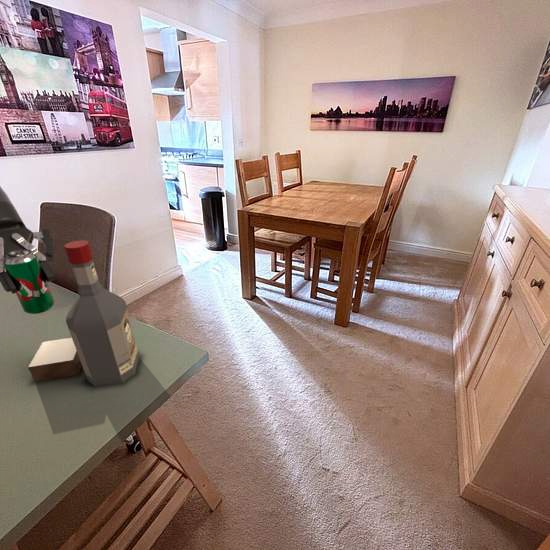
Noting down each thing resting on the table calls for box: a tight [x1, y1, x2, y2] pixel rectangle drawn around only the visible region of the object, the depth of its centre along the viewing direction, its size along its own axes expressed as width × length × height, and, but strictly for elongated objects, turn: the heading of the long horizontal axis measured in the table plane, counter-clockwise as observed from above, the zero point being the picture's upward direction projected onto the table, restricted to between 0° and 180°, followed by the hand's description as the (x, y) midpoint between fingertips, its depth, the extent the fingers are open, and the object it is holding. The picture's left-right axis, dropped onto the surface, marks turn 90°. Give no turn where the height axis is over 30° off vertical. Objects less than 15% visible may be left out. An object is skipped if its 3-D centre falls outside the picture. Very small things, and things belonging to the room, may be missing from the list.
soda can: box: [3, 249, 55, 315], centre depth 58 cm, size 5×5×12 cm
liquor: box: [64, 239, 140, 387], centre depth 59 cm, size 9×9×30 cm
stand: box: [27, 337, 83, 383], centre depth 66 cm, size 8×8×5 cm
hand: (33, 285), depth 57 cm, fingers closed on soda can, 5 cm apart
